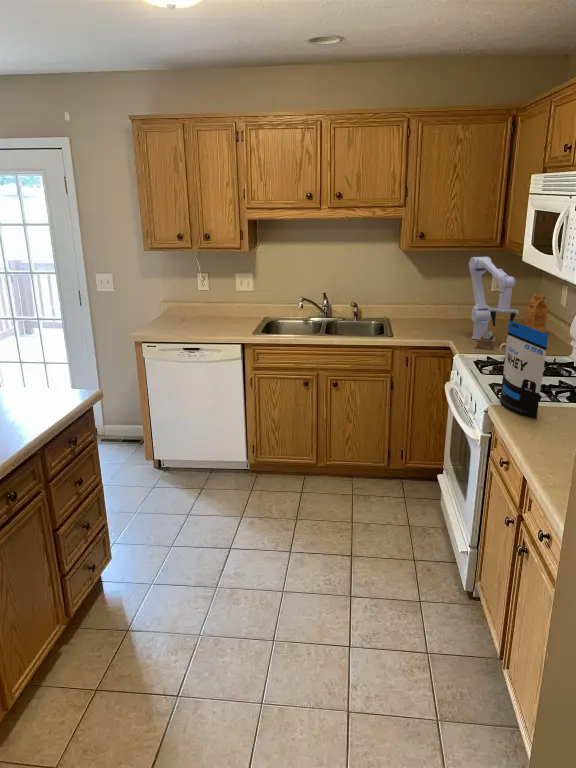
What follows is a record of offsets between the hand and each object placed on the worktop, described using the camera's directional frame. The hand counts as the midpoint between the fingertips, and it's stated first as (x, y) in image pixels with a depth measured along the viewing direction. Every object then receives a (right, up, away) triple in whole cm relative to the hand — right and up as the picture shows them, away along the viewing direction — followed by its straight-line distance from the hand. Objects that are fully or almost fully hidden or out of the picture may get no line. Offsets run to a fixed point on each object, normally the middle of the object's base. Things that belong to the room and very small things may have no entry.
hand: (501, 326), depth 299 cm
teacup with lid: (-4, -17, -22) cm, 28 cm away
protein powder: (-27, -38, -88) cm, 100 cm away
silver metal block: (-8, -10, +1) cm, 12 cm away
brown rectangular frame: (-8, -10, +1) cm, 13 cm away
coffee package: (+30, 0, +32) cm, 44 cm away
